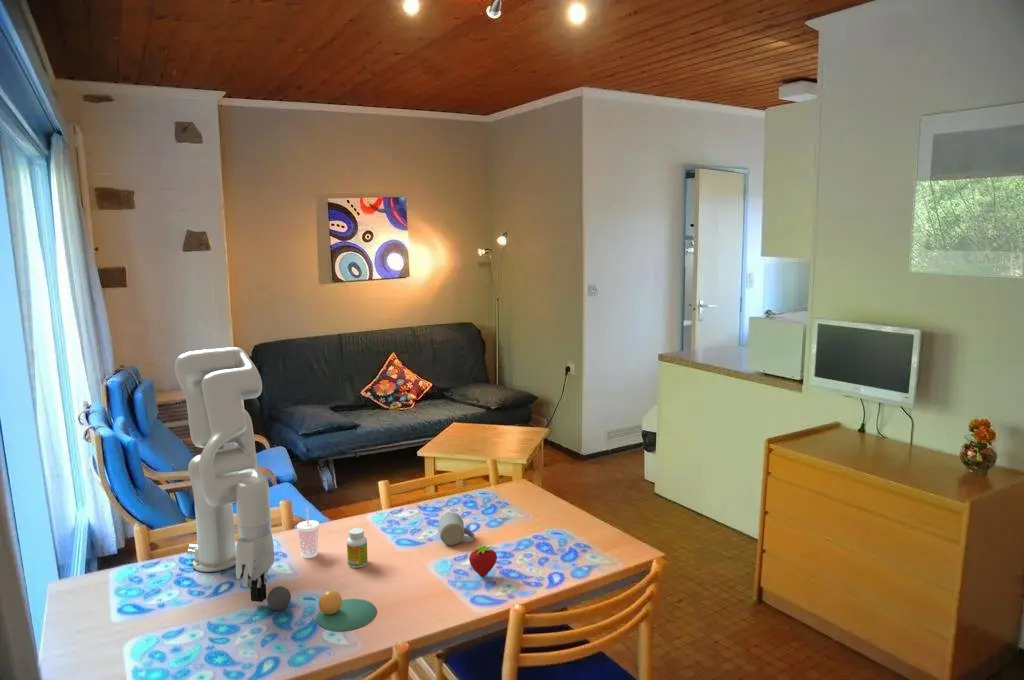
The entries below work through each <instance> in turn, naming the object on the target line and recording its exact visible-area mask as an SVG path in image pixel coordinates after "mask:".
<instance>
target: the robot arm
mask: <svg viewBox="0 0 1024 680" xmlns="http://www.w3.org/2000/svg"><path fill="white" fill-rule="evenodd" d="M174 373H175V376H176V379H177V381H178V382H177V383H178V384H179V387H180V388H181V390H182V393H183V395H184V398H185V401H186V410H187V418H188V426H189V434H190V439H191V442H192V444H193V445H194V446H195V447H197V448H202V449H203V450H202V452H201V453H200V454H197V455H195V456H193V457H192V458H191V460H190V461H189V462H188V467H187V469H188V474H189V475H188V476H189V480H190V483H191V488H192V493H193V499H194V511H195V525H196V541H197V543H196V544H195V543H190V544H189V545H188V548H187V550H186V554H187V555H194V559H193V560H192V567H193V569H195V570H197V571H198V572H204V573H210V572H211V573H212V572H219V571H224V570H226V569H230V568H232V567H234V566H235V576H236V577H235V578H236V580H241V579H242V587H244V588H249V590H250V601H251V602H257V603H258V602H259V603H263V602H264V601H265V600H267V587H266V586H267V585H266V583H267V578H268V572H269V570H270V569H271V568H272V566H273V564H274V563H275V548H274V539H273V533H272V521H271V505H270V504H271V503H270V502H271V499H270V486H269V485H270V484H269V481H268V479H266V478H265V475H264V474H263V472H262V471H261V470H260V469H258V459H257V458H258V457H257V451H256V441H255V435H254V426H253V421H252V417H251V416H250V414H249V412H248V411H247V410H246V409H244V407H243V406H244V405H243V402H242V401H243V400H244V401H245V400H249V399H256V398H258V397H259V396H261V394H262V392H263V381H262V378H261V375H260V373H259V370H258V368H257V367H256V365H255V364H254V362H253V361H252V359H251V358H250V357H249V355H248V354H247V352H246V351H245V350H244V349H243V348H241V347H238V346H237V347H236V346H234V347H233V346H232V347H220V348H208V349H201V350H192V351H187V352H185V353H181V354H180V355H178V356H177V358H176V359H175V363H174ZM227 444H228V445H229V444H234V445H235V446H233V447H229V448H224V449H220V448H221V447H222V446H223V445H227ZM235 503H236V521H237V536H238V537H237V538H238V539H237V541H235V540H236V538H235V537H236V536H235V521H234V505H233V504H235ZM236 542H237V543H236Z"/></svg>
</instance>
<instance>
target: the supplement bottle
mask: <svg viewBox="0 0 1024 680" xmlns="http://www.w3.org/2000/svg"><path fill="white" fill-rule="evenodd" d="M348 536H349V537H348V538H347V539H346V546H347V547H346V550H347V551H346V552H347V556H346V557H347V565H348V567H349V568H351V569H359V568H362V567H365V566H366V565H367V564H368V539H367V537H366V536H365V529H363V528H362V527H354V528H351V529H350V530H349V531H348Z"/></svg>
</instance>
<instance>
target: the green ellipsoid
mask: <svg viewBox="0 0 1024 680" xmlns="http://www.w3.org/2000/svg"><path fill="white" fill-rule="evenodd" d="M377 612H378V611H377V607H376V606H375V604H373V603H372V602H371V601H368V600H365V599H361V598H346V599H342V605H341V608H340V609H339V610H338V611H337V612H336V613H334V614H332V615H327V614H324V613H323V612H321V610H320V609H319V611H318V612H317V615H316V623H317V624H318V626H320V627H321V628H322V629H325V630H327V631H332V632H347V631H353V630H356V629H359V628H363V627H364V626H365V627H366V626H367V625H368V624H370V623H371V622H372V621H373V620H374V619H375V617H376V615H377Z"/></svg>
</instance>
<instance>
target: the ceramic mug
mask: <svg viewBox="0 0 1024 680" xmlns="http://www.w3.org/2000/svg"><path fill="white" fill-rule="evenodd" d="M437 522H438V524H437V526H438V533H439V537H440V539H441V542H442V543H443V544H445V545H446V546H450V547H452V546H457V545H458V544H460V543H461V542H462V541H463V542H466V543H472V542H473V541H474V539H475V536H476V535H475V534H474V532H473V531H472V530H470V529H468V528H466V527H465V525H464V520H463V517H462V516H461V515H460V514H458V513H456V512H453V511H450V512H446V513H444V514H442V515H441V517H440V518H439V519H438V521H437ZM465 535H467V536H465Z"/></svg>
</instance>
